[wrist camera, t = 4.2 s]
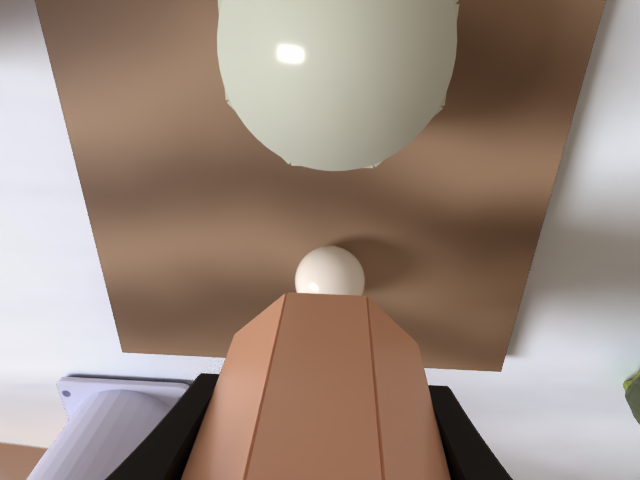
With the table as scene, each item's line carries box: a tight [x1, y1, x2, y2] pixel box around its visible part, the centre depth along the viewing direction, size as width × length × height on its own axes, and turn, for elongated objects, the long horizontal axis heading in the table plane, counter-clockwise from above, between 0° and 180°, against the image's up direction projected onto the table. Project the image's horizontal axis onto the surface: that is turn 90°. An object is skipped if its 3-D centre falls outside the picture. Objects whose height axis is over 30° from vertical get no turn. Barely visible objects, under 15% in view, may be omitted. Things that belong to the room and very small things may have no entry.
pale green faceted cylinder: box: [217, 0, 459, 171], centre depth 12 cm, size 6×6×6 cm
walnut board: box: [35, 0, 606, 372], centre depth 18 cm, size 18×20×1 cm
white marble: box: [295, 246, 365, 296], centre depth 18 cm, size 3×3×3 cm
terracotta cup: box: [181, 292, 451, 480], centre depth 10 cm, size 6×6×6 cm
